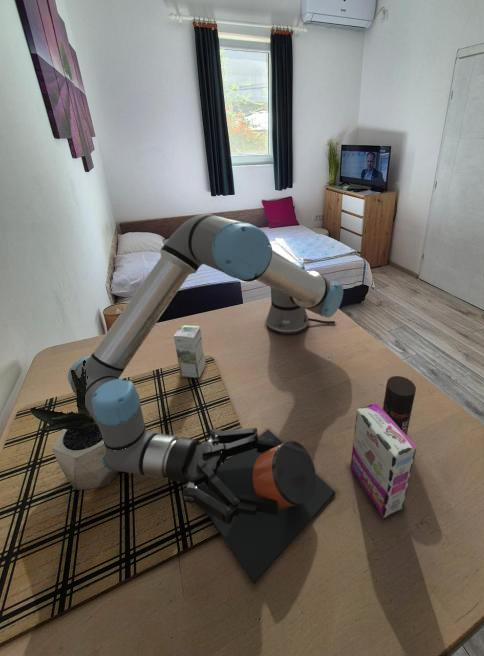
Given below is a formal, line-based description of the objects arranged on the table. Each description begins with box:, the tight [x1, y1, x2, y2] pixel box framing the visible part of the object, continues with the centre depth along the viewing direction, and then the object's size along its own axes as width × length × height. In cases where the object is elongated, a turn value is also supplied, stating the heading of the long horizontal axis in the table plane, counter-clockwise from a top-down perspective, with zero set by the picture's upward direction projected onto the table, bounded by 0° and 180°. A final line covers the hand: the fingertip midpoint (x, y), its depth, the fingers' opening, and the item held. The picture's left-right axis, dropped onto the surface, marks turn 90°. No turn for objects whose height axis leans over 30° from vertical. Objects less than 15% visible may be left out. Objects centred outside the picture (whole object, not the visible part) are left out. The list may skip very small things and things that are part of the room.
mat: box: [196, 429, 336, 585], centre depth 64 cm, size 20×20×1 cm
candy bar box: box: [350, 402, 417, 519], centre depth 61 cm, size 11×5×16 cm, turn 23°
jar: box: [253, 440, 317, 511], centre depth 60 cm, size 6×10×10 cm
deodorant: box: [382, 375, 417, 437], centre depth 73 cm, size 6×6×15 cm
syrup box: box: [173, 324, 206, 379], centre depth 93 cm, size 6×6×14 cm
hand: (283, 477), depth 61 cm, fingers closed on jar, 10 cm apart
